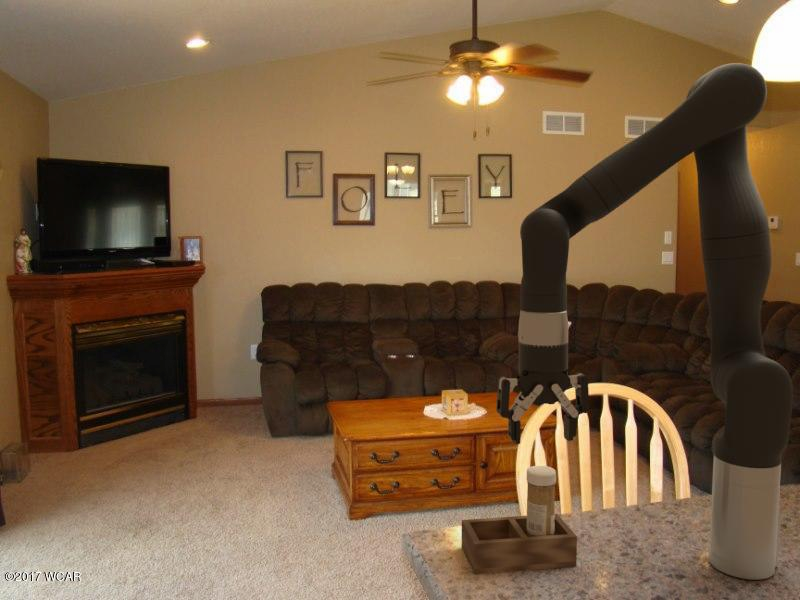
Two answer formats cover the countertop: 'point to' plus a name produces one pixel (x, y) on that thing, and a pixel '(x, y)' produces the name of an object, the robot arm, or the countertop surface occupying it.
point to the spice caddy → (516, 545)
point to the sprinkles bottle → (540, 501)
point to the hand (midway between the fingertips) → (542, 440)
